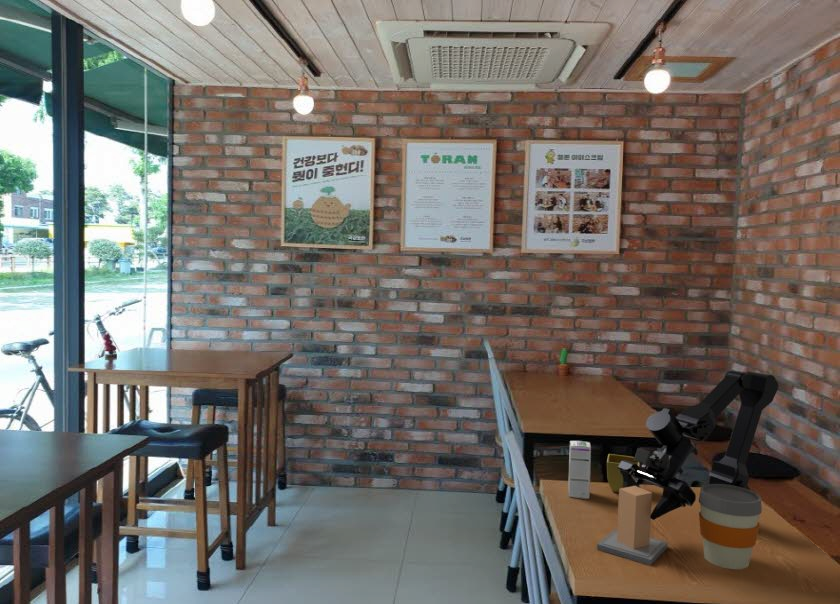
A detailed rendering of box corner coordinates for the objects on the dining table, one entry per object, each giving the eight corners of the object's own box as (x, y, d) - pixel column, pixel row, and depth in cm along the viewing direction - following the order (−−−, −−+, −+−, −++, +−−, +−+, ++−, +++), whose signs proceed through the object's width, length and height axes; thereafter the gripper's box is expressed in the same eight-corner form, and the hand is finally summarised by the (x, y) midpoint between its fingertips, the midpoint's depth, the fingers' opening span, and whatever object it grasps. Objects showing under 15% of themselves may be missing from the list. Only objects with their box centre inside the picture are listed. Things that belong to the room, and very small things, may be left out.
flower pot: (638, 487, 191) (639, 457, 191) (637, 497, 183) (639, 465, 183) (606, 483, 194) (608, 453, 194) (605, 493, 186) (606, 461, 185)
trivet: (667, 547, 151) (668, 541, 151) (650, 565, 141) (650, 559, 141) (616, 533, 158) (616, 527, 158) (596, 549, 148) (597, 543, 148)
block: (632, 536, 153) (635, 485, 152) (649, 544, 148) (652, 492, 148) (616, 540, 150) (619, 488, 150) (633, 549, 146) (636, 495, 145)
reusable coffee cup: (755, 579, 136) (759, 508, 136) (690, 562, 143) (694, 495, 142) (760, 557, 147) (765, 491, 146) (700, 543, 154) (704, 479, 153)
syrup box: (589, 499, 180) (592, 447, 180) (567, 497, 182) (570, 445, 181) (588, 492, 186) (591, 441, 185) (567, 490, 187) (569, 439, 186)
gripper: (624, 426, 159) (588, 477, 154) (689, 446, 143) (651, 504, 138) (646, 454, 163) (611, 505, 159) (712, 477, 147) (675, 534, 142)
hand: (635, 511), depth 149 cm, fingers open, 9 cm apart
